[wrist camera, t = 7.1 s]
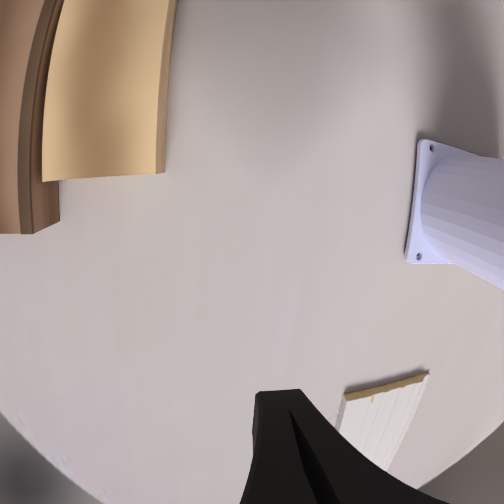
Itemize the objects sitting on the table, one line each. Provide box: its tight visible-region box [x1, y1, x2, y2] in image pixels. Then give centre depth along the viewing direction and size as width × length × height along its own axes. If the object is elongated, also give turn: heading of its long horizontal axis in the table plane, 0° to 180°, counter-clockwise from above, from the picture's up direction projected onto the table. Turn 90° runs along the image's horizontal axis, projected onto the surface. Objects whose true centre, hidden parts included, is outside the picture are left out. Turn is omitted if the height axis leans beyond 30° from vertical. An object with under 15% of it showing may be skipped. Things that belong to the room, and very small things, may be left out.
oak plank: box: [42, 0, 178, 182], centre depth 11 cm, size 6×20×3 cm, turn 178°
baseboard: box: [335, 372, 430, 471], centre depth 25 cm, size 30×3×10 cm
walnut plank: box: [0, 0, 64, 234], centre depth 10 cm, size 8×24×3 cm, turn 176°
